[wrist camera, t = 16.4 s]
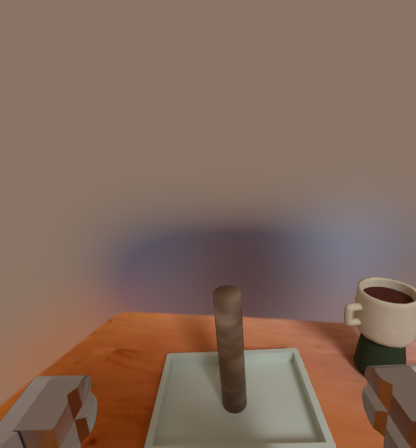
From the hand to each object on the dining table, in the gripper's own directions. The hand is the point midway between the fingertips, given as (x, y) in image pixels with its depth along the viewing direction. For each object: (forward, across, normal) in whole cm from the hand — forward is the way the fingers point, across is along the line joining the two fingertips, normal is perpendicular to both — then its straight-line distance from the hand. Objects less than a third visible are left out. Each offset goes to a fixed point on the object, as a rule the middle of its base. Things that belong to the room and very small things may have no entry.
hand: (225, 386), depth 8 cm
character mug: (+25, -22, +26) cm, 42 cm away
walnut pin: (+20, -1, +25) cm, 32 cm away
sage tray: (+20, -1, +26) cm, 33 cm away
